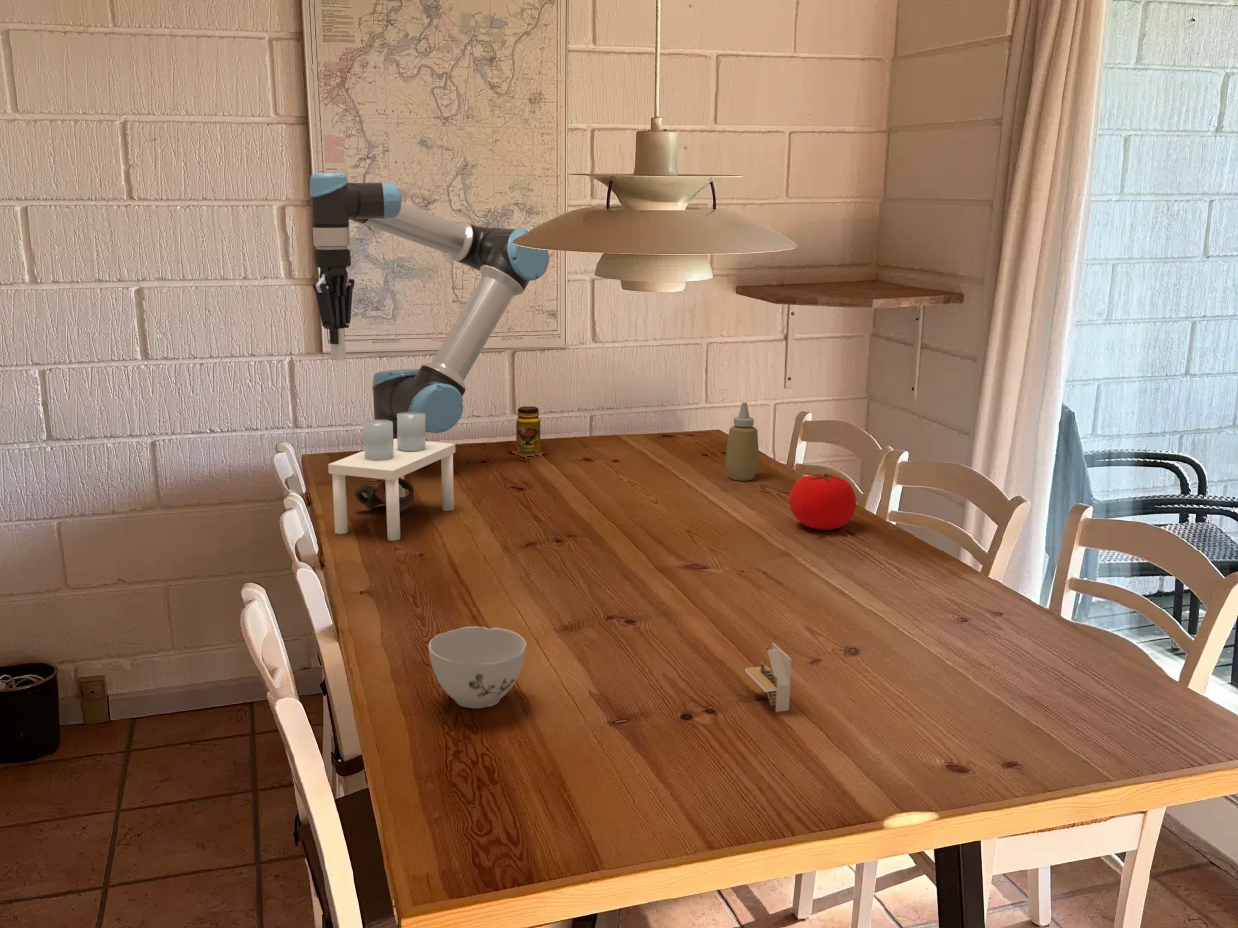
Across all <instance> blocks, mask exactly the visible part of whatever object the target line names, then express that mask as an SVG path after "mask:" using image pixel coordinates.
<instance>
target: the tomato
mask: <svg viewBox="0 0 1238 928" xmlns="http://www.w3.org/2000/svg"><path fill="white" fill-rule="evenodd" d="M788 500H789V501H788V502H789V503H788V504H789V507H790V511H791V513H792V514H793V517H795V519H797V521H798V522H799V523H801V524H802V525H804V526H806V527H807V528H808V527H809V528H810V529H811V528H812V529H815V530H819V531H829V530H835V529H839V528H841V527H844V526H845V525H846V524H847V523H849V521H850V520H851V519H852V517H853V515H854V514H855V511H856V508H857V498H856V493H855V491H854V489H853V487H852V485H851V484H850V482H848V481H847V480H846V479H845V478H842V477H839V476H836V475H835V474H834V473H833V474H828V473H822V474H810V475H806V476H803V477H801V478H799V479H798V480H797V481H796V482H795V483H794V485H793V486H792V489H791V490H790V493H789V496H788Z"/></svg>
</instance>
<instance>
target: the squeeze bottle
mask: <svg viewBox="0 0 1238 928" xmlns="http://www.w3.org/2000/svg"><path fill="white" fill-rule="evenodd" d="M754 419H755V418H753V417H750V413H749V407H748V402H746V401H745V402H741V405H740V408H739V413H738V416H735V417H734V418H733V425H732V426H731V427H730V428H729V430H728V438H727V445H726V450H725V451H726V452H725V460H724V464H725V468H726V471H727V475H728V478H729V479H731V480H734V481H742V482H744V481H752V480H754V479H755V477H756V474H757V472H758V469H759V466H760V456H759V455H760V453H759V435H758V429H757V428H756V427H755V426H754V425H755V424H754V423H755V422H754V421H755V420H754Z"/></svg>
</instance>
